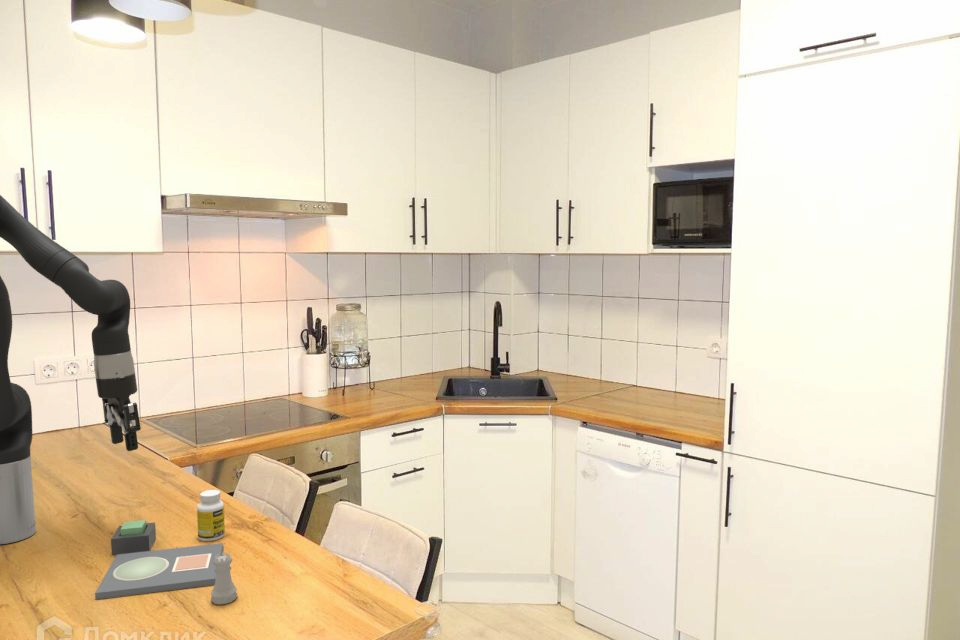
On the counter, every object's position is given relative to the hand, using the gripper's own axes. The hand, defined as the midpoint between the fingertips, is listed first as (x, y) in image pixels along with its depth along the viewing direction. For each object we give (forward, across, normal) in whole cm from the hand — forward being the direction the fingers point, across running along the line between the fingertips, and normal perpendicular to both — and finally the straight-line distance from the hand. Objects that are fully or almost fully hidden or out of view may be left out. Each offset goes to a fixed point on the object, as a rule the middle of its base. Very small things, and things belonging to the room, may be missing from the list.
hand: (125, 446), depth 148 cm
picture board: (+20, +24, -4) cm, 32 cm away
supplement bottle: (+20, +15, +10) cm, 27 cm away
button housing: (+19, +8, -3) cm, 21 cm away
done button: (+17, +8, -3) cm, 19 cm away
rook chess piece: (+20, +43, -1) cm, 47 cm away
